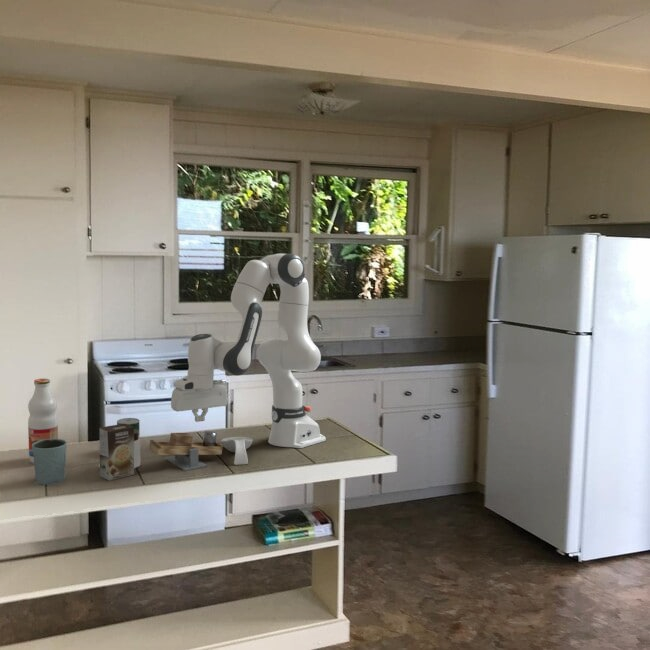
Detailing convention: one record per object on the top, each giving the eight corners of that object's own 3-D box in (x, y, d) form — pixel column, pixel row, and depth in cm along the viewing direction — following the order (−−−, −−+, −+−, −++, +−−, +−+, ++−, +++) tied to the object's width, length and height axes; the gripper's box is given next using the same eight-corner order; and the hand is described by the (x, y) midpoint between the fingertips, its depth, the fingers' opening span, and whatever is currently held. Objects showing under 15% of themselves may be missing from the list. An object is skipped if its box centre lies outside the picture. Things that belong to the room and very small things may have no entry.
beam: (210, 448, 254) (211, 439, 254) (222, 455, 246) (224, 446, 246) (147, 448, 239) (149, 439, 239) (159, 455, 232) (160, 446, 231)
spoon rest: (219, 445, 265) (219, 427, 264) (250, 444, 267) (250, 426, 266) (224, 466, 242) (224, 446, 241) (259, 464, 244) (259, 444, 243)
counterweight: (211, 444, 251) (213, 430, 251) (217, 447, 247) (219, 433, 247) (200, 444, 248) (202, 430, 248) (206, 447, 245) (208, 433, 245)
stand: (187, 455, 251) (187, 438, 250) (206, 466, 240) (206, 448, 239) (166, 459, 246) (166, 441, 245) (184, 470, 235) (184, 452, 234)
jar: (125, 460, 244) (125, 426, 243) (144, 464, 241) (144, 429, 240) (107, 468, 236) (107, 433, 235) (127, 471, 233) (127, 436, 231)
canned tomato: (137, 453, 252) (137, 423, 250) (114, 453, 251) (114, 423, 250) (141, 447, 260) (141, 418, 258) (119, 447, 259) (119, 417, 258)
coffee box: (109, 481, 224) (108, 431, 222) (99, 476, 228) (98, 427, 226) (135, 474, 231) (134, 426, 229) (124, 469, 235) (124, 422, 233)
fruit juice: (64, 460, 243) (62, 379, 240) (37, 466, 236) (35, 384, 232) (49, 454, 249) (47, 375, 246) (23, 460, 242) (21, 379, 238)
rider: (185, 444, 245) (186, 433, 245) (191, 447, 241) (192, 436, 241) (169, 444, 241) (170, 432, 241) (175, 447, 237) (176, 436, 237)
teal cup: (64, 473, 230) (64, 437, 229) (69, 482, 222) (68, 445, 220) (31, 477, 226) (30, 440, 224) (34, 487, 217) (33, 449, 215)
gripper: (222, 377, 252) (221, 415, 253) (169, 382, 239) (168, 422, 241) (231, 380, 247) (230, 419, 248) (177, 385, 234) (176, 426, 236)
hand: (199, 421), depth 244 cm, fingers closed
